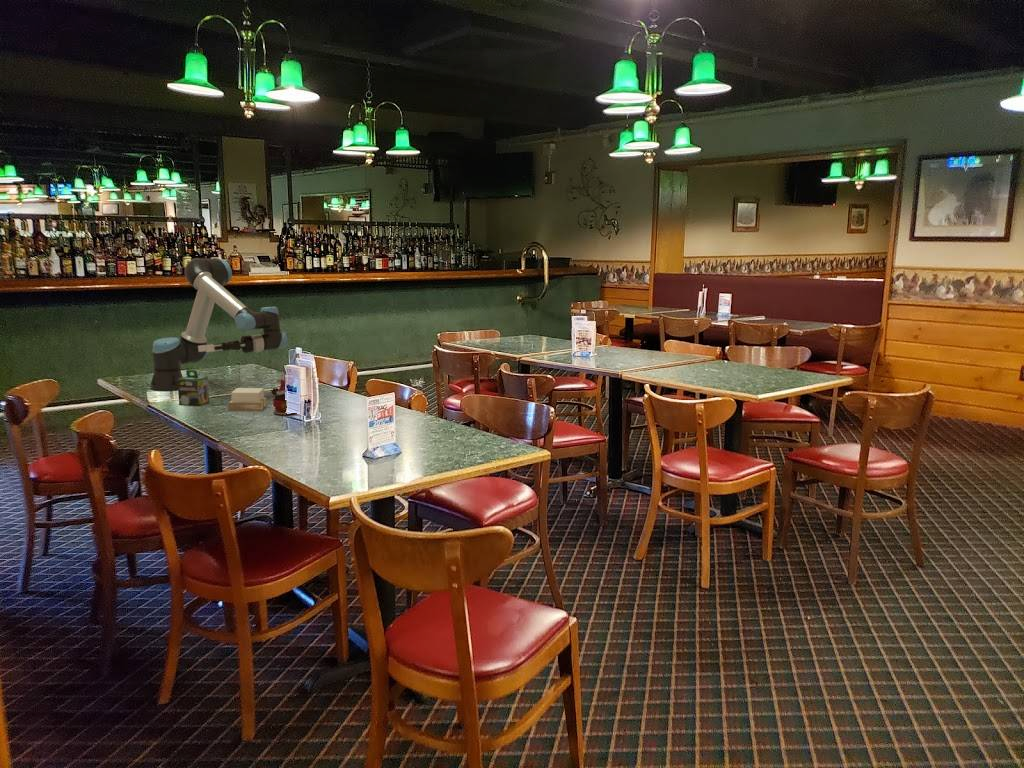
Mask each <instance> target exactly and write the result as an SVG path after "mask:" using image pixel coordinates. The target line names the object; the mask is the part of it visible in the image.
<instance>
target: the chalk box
mask: <svg viewBox="0 0 1024 768" xmlns="http://www.w3.org/2000/svg"><path fill="white" fill-rule="evenodd" d="M185 372H186V376H183V377H182V378H179V379H178V390H177V392H178V405H179V406H194V407H200V406H202V405H205V404H207V403H209V402H210V396H209V395H210V394H209V393H210V392H209V379H208V376H207V375H199V374H198V372H197V370H196V369H195V370H194V369H186V370H185ZM191 373H193V375H191Z"/></svg>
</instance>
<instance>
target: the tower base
mask: <svg viewBox="0 0 1024 768" xmlns="http://www.w3.org/2000/svg"><path fill="white" fill-rule="evenodd" d="M267 400H268V399H267V396H264V398H263V399H262V400H261V401H260V402H232V399H231V400H230V401H228V402H227V405H228V406H227V408H228V409H227V410H228V412H262V411H263V410H264V408H265V407H266V406H267Z"/></svg>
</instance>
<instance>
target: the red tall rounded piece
mask: <svg viewBox="0 0 1024 768" xmlns="http://www.w3.org/2000/svg"><path fill="white" fill-rule="evenodd" d="M285 371H286V370H284V369H283V378H280V377H277V378H276V383H277V384H280V386H279V387H273V388H272V389H271V391H270V394H272V395H273V396H274V398H273V399H272V406H273V407H274V409H273V414H275V415H276V414H277V415H280V416H281V415H282V416H287V415H286V414H287V413H285V412H286V408H287V406H286V400H285Z"/></svg>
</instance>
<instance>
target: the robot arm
mask: <svg viewBox="0 0 1024 768" xmlns="http://www.w3.org/2000/svg"><path fill="white" fill-rule="evenodd" d="M184 277H185V278H186V281H187V282H188V283H189V285H190V286H192V287H193V288H194V289H195V290H197V291H196V295H195V299H194V301H193V305H192V308H191V311H190V312H191V313H190V315H189V320H188V323H187V327H186V330H185V331H182V332H181V333H180V337H179V338H178V337H174V336H173V337H172V336H171V337H162V338H158V339H156V340H154V341H153V343H152V349H151V351H152V359H153V361H152V362H153V374H152V377H151V381H150V385H149V387H150V390H152V391H156V392H157V391H158V392H160V391H161V392H168V391H169V392H170V391H171V392H172V391H178V379H179V378H182V377H184V375H183V373H182V366H181V365H184V364H191V363H192V364H196V363H199V362H201V361H203V360H206V358H208V355H209V353H213V352H223V351H229V350H233V351H235V350H236V351H239V350H242V353H244V354H247V353H248V354H249V353H253V352H254V353H255V352H258V353H260V354H261V352H265V351H266V352H267V351H275V350H281V349H285V348H287V346H288V343H289V342H288V341H289V340H288V337H287V336H288V335H287V334H286V332H285V331H281V322H280V314H279V310H278V307H277V306H265V307H261V308H260V311H257V312H256V311H253V310H251V309H250V308H248V306H247V305H246V304H244V303H243V302H241V301H240V300H239V299H238V298H237V297H236V296H234V295H233V294H232V293H231V292H230V291H229V290H228V289H226V288H225V287H224V286H225V284H226V285H227V284H228V283H229V282H230V281H231V280H232V278H233V271H232V268H231V265H230V264H229V262H227V261H226V259H222V258H218V257H217V258H216V257H215V258H209V257H208V258H204V257H203V258H201V257H197V258H193V259H191V260H190V261H188V262H187V263H186V265H185V267H184ZM215 304H216V305H217V306H218V307H220V308H221V309H222V310H223V311H225V312H226V313H227V314H228V315H229V316H230V317H232V318H233V319H234V324H235V325H236V327H237V329H238V330H240V331H253V330H261V329H262V330H263V331H262V332H263V333H259V334H252V335H242V336H241V338H240V340H233V341H228V342H222V343H211V344H209V343H208V339H207V337H206V333H207V329H208V325H209V322H210V319H211V316H212V312H213V310H214V306H215Z"/></svg>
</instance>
